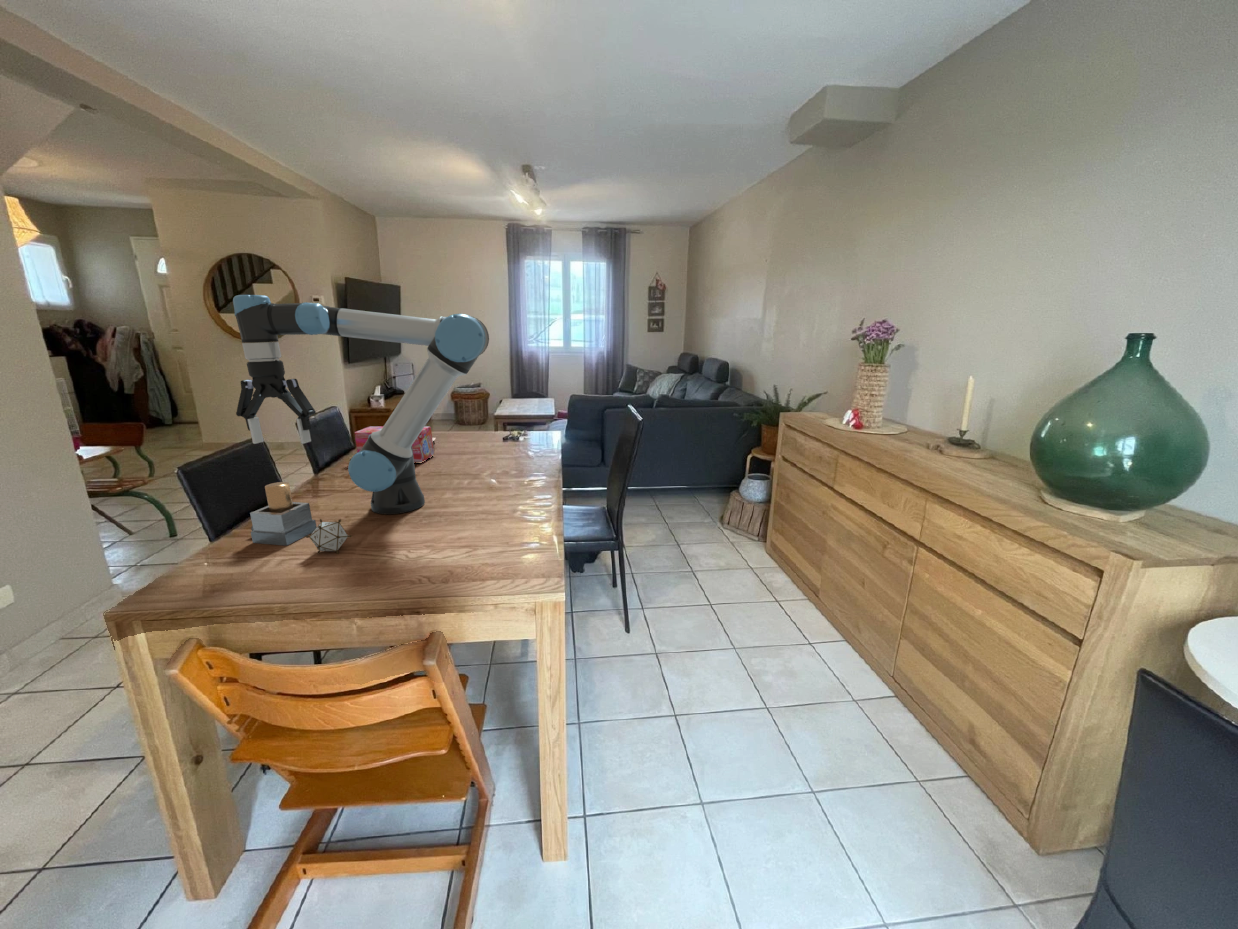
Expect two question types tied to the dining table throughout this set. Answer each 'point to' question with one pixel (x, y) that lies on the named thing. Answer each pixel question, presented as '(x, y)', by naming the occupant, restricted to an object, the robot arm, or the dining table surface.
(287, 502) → the gold metallic cylinder
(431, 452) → the box
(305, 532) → the open rectangular container
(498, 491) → the dining table surface
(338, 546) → the game die
